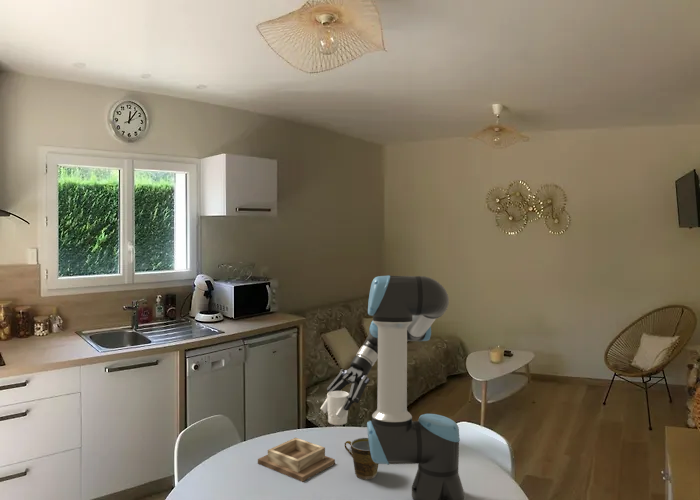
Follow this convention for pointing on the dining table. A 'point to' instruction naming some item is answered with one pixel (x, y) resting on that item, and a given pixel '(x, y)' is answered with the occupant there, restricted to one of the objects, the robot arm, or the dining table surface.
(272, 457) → the tray
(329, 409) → the white cup
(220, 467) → the dining table surface
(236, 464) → the dining table surface
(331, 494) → the dining table surface
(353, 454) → the ceramic cup
